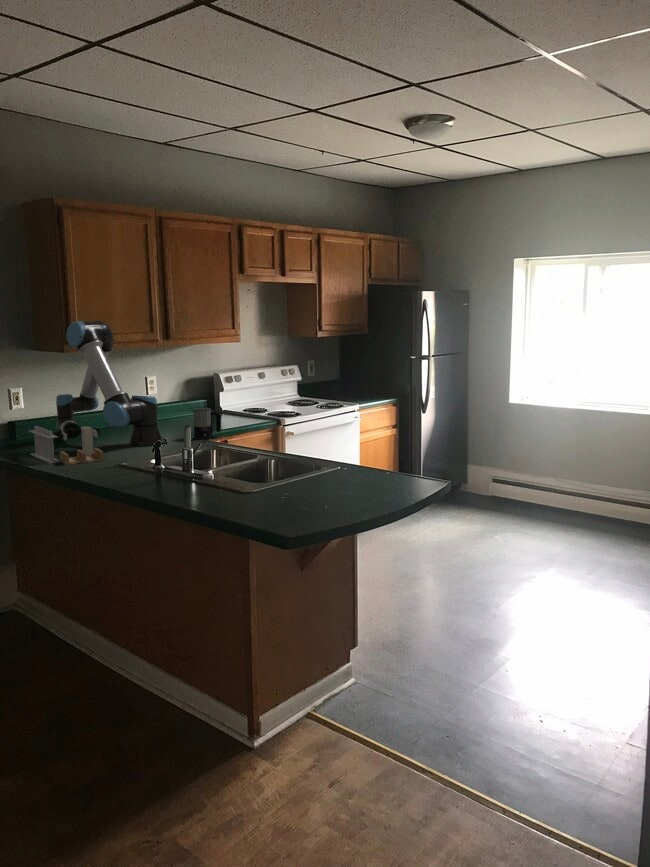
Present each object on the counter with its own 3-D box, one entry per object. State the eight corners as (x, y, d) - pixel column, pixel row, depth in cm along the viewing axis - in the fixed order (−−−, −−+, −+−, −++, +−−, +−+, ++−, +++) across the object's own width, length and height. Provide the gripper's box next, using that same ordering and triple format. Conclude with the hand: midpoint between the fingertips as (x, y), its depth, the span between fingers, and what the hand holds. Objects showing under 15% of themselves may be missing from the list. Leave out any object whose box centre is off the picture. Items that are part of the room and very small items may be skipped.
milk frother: (199, 440, 353) (198, 410, 351) (183, 436, 365) (182, 407, 363) (224, 437, 362) (223, 408, 360) (208, 433, 374) (207, 405, 372)
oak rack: (98, 456, 313) (97, 447, 312) (104, 460, 304) (103, 451, 304) (59, 460, 304) (59, 451, 304) (65, 465, 296) (64, 455, 295)
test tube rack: (30, 455, 318) (28, 425, 316) (40, 454, 321) (38, 424, 319) (49, 464, 299) (47, 432, 297) (59, 462, 302) (57, 431, 300)
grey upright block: (90, 452, 322) (89, 426, 320) (93, 454, 318) (91, 427, 316) (82, 453, 320) (81, 427, 319) (85, 455, 316) (83, 428, 314)
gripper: (97, 434, 351) (109, 441, 334) (43, 439, 338) (53, 446, 321) (96, 419, 350) (108, 425, 332) (42, 423, 337) (52, 429, 319)
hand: (81, 435), depth 326 cm, fingers open, 13 cm apart
